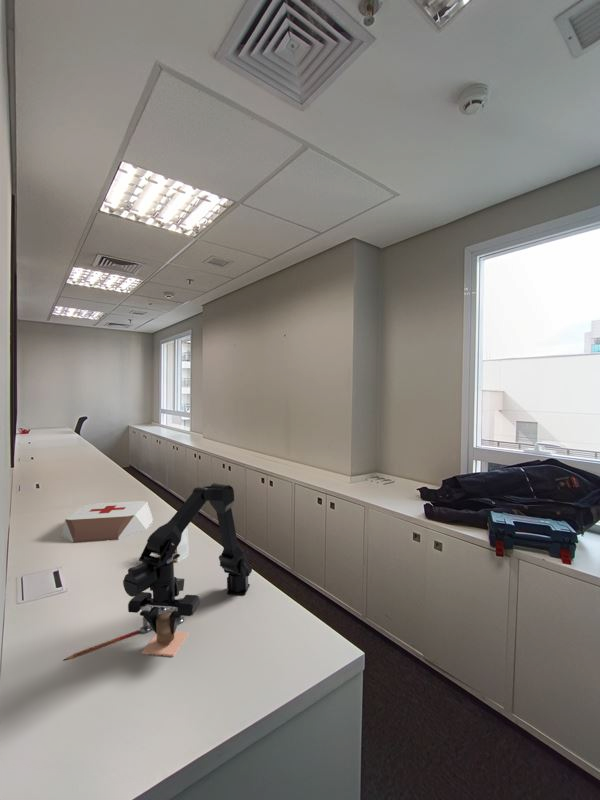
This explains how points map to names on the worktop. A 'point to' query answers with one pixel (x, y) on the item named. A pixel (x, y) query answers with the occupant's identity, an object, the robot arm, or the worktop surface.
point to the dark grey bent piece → (161, 610)
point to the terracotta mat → (165, 645)
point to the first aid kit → (107, 521)
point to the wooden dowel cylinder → (163, 629)
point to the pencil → (102, 645)
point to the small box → (183, 546)
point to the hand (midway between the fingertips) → (165, 633)
